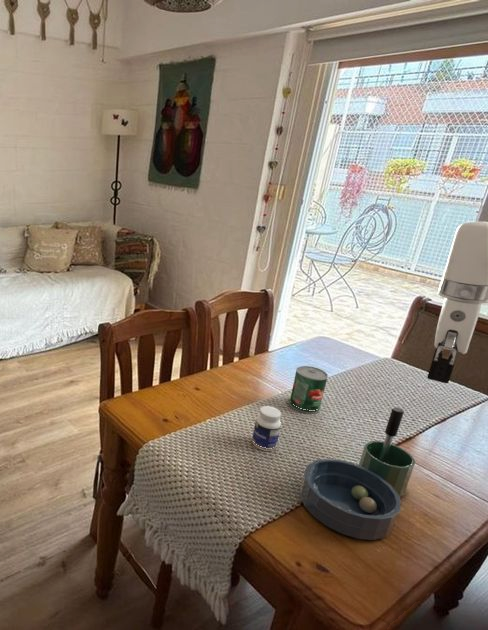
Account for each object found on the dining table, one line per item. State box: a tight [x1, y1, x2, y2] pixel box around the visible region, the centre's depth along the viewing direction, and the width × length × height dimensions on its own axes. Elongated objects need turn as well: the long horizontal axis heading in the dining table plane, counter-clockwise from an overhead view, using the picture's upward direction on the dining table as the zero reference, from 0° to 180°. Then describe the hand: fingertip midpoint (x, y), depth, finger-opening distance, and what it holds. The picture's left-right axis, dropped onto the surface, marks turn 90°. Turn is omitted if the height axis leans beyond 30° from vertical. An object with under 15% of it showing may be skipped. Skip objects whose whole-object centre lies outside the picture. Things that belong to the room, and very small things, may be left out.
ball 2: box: [359, 497, 377, 513], centre depth 89 cm, size 3×3×3 cm
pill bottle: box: [251, 405, 282, 452], centre depth 108 cm, size 6×6×10 cm
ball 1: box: [351, 486, 368, 501], centre depth 92 cm, size 3×3×3 cm
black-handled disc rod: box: [379, 406, 405, 463], centre depth 95 cm, size 4×4×18 cm
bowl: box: [299, 458, 402, 541], centre depth 90 cm, size 17×17×6 cm
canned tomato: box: [288, 365, 329, 415], centre depth 125 cm, size 8×8×11 cm
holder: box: [358, 440, 416, 498], centre depth 96 cm, size 9×9×8 cm
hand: (439, 371), depth 88 cm, fingers open, 9 cm apart
